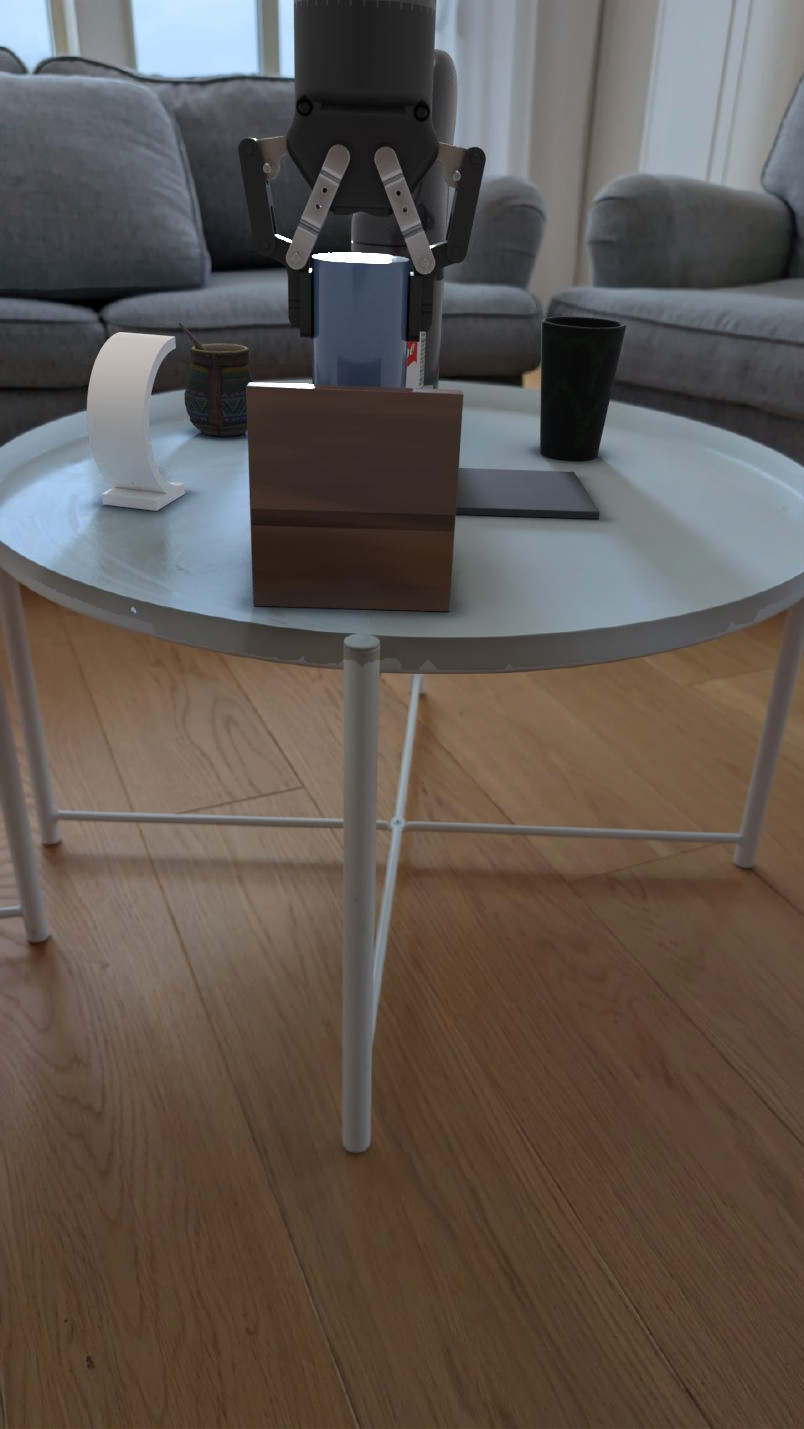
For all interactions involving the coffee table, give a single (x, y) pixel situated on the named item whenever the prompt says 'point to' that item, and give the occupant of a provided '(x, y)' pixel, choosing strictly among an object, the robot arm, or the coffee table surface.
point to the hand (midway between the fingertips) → (359, 337)
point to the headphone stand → (128, 420)
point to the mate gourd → (218, 387)
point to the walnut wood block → (353, 495)
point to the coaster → (523, 494)
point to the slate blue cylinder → (360, 319)
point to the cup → (576, 383)
